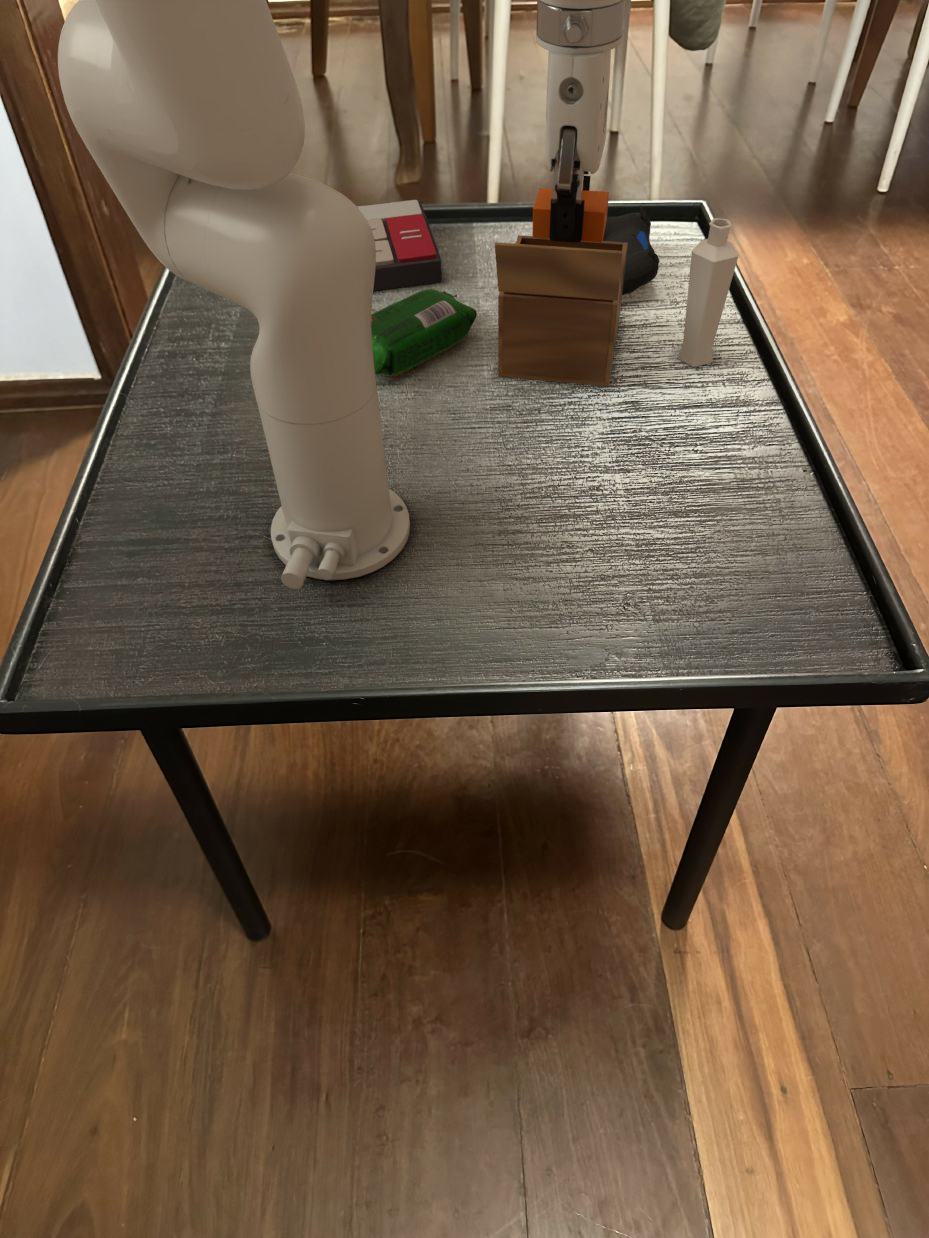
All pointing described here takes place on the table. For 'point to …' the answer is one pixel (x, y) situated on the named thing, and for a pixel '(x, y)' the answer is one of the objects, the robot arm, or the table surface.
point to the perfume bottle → (707, 292)
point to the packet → (591, 222)
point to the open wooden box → (559, 330)
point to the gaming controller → (634, 248)
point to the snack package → (417, 330)
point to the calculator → (402, 245)
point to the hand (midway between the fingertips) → (568, 226)
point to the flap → (558, 271)
